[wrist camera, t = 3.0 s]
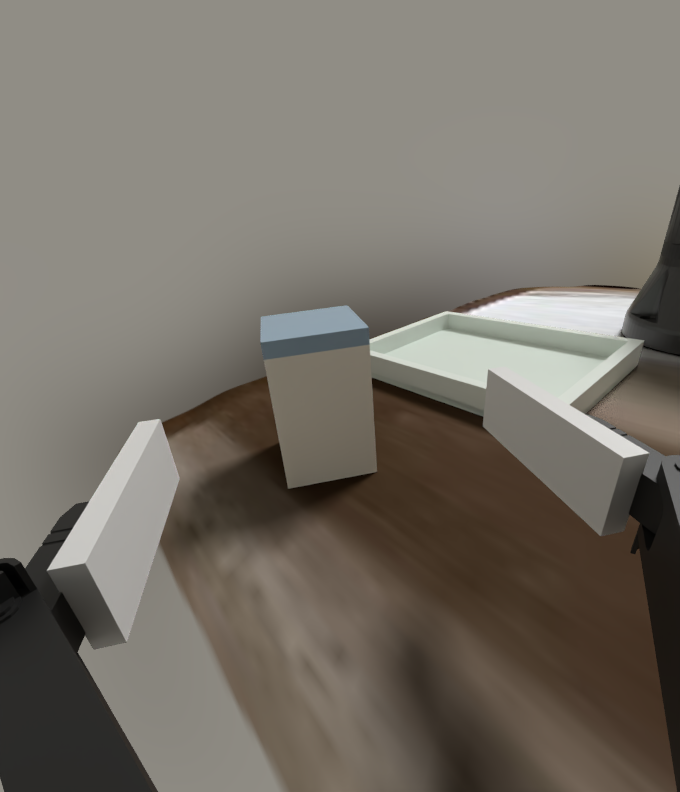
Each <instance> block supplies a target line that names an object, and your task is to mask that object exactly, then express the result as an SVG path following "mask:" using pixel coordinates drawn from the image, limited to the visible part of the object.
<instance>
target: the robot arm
mask: <svg viewBox="0 0 680 792" xmlns="http://www.w3.org/2000/svg"><path fill="white" fill-rule="evenodd" d="M622 333H623V335H624V336H625V337H627V338H631V339H638V340H645V341H644V344H643V345H644V346H646V347H650V348H653V349H656V350H660V351H664V352H669V353H673V354H678V355H680V187H679V190H678V194H677V197H676V201H675V205H674V208H673V212H672V215H671V219H670V223H669V226H668V230H667V233H666V237H665V240H664V244H663V248H662V252H661V256H660V259H659V262H658V264H657V266H656V268H655V269H654V271H653V272H652V274H651V275H650V277H649V278H648V280H647V281H646V283H645V284H644V286H643V287H642V289H641V290H640V292H639V294H638V295H637V297H636V298H635V300H634V301H633V303H632V304H631V306H630V307H629V309H628V310H627V313H626V315H625V319H624V323H623V327H622ZM483 427H484V428H485V429H486V430H487V431H488V432H489V433H491V434H492V435H493V436H494V437H495V438H496V439H497V440H498V441H499V442H500V443H501V444H502V445H503V446H505V447H506V448H507V449H508V450H509V451H510V452H511V453H512V454H513V455H514V456H515V457H516V458H517V459H518V460H520V461H521V462H522V463H523V464H524V465H525V466H526V467H527V468H528V469H529V470H530V471H531V472H532V473H533V474H535V475H536V476H537V477H538V478H539V479H540V480H541V481H542V482H543V483H544V484H545V485H546V486H547V487H549V488H550V489H551V490H552V491H553V492H554V493H555V494H556V495H557V496H558V497H559V498H560V499H561V500H562V501H564V502H565V503H566V504H567V505H568V506H569V507H570V508H571V509H572V510H573V511H574V512H575V513H576V514H578V515H579V516H580V517H581V518H582V519H583V520H584V521H585V522H586V523H587V524H588V525H589V526H590V527H591V528H593V529H594V530H595V531H596V532H597V533H598V534H599V535H600V536H604V535H609V534H613V533H618V532H622V531H624V530H625V526H626V523H627V520H628V517H629V514H630V515H631V516H632V517H633V518H635V519H636V520H637V521H638V522H640V525H639V528H638V531H637V534H636V537H635V540H634V542H633V545H632V548H631V553H632V554H635V553H636V551H637V549H640V555H641V561H642V568H643V574H644V581H645V587H646V594H647V600H648V606H649V613H650V619H651V626H652V632H653V639H654V645H655V651H656V658H657V664H658V671H659V677H660V684H661V690H662V696H663V703H664V709H665V716H666V722H667V729H668V735H669V741H670V748H671V754H672V761H673V767H674V774H675V780H676V786H677V792H680V455H672V456H667V457H666V456H664V455H662V454H661V453H659V452H657V451H656V450H654V449H652V448H650V447H649V446H647V445H645V444H644V443H642V442H640V441H638V440H637V439H635V438H633V437H632V436H630V435H629V436H627V434H626V433H625V432H623V431H621V430H620V429H616V427H614V426H613V425H611V424H609V423H608V422H606V421H604V420H602V419H600V418H597V417H594V416H591V415H588V414H584V413H582V412H580V411H579V410H577V409H575V408H574V407H572V406H570V405H569V404H567V403H565V402H564V401H562V400H560V399H559V398H557V397H555V396H554V395H552V394H550V393H549V392H547V391H545V390H544V389H542V388H540V387H539V386H537V385H535V384H534V383H532V382H530V381H529V380H527V379H525V378H524V377H522V376H520V375H519V374H517V373H515V372H513V371H512V370H510V369H508V368H507V367H498V368H492V369H488V376H487V386H486V397H485V407H484V418H483ZM179 479H180V478H179V475H178V472H177V469H176V466H175V463H174V460H173V457H172V454H171V451H170V448H169V444H168V441H167V438H166V435H165V432H164V429H163V426H162V423H161V420H160V419H157V420H150V421H143V422H138V424H137V426H136V428H135V429H134V431H133V432H132V434H131V435H130V437H129V438H128V440H127V442H126V443H125V445H124V446H123V448H122V450H121V451H120V453H119V455H118V456H117V458H116V459H115V461H114V463H113V464H112V466H111V467H110V469H109V471H108V472H107V474H106V476H105V477H104V479H103V481H102V482H101V484H100V485H99V487H98V489H97V490H96V492H95V494H94V495H93V497H92V498H91V500H90V501H89V502H84V503H78V504H75V505H74V506H73V507H72V508H71V509H69V511H67V512H66V513H65V514H64V515H62V517H60V518H59V520H58V521H57V523H56V524H55V526H54V527H53V529H52V530H51V534H49V535H48V536H47V538H46V539H45V540H44V542H43V543H42V544H43V545H42V546H41V547H40V548H39V549H38V551H37V552H36V553H35V555H34V556H33V558H32V559H31V561H30V562H29V564H28V565H27V567H26V568H24V567H23V565H22V563H21V562H19V561H18V560H16V559H15V558H3V559H0V779H1V781H2V785H3V789H4V792H158V791H157V789H156V787H155V786H154V784H153V782H152V781H151V779H150V777H149V775H148V774H147V772H146V770H145V768H144V767H143V765H142V763H141V761H140V760H139V758H138V756H137V754H136V753H135V751H134V749H133V747H132V746H131V744H130V742H129V741H128V739H127V737H126V735H125V733H124V732H123V730H122V728H121V727H120V725H119V723H118V721H117V720H116V718H115V716H114V714H113V713H112V711H111V709H110V708H109V706H108V704H107V702H106V701H105V699H104V697H103V695H102V694H101V692H100V690H99V688H98V687H97V685H96V683H95V682H94V680H93V678H92V676H91V675H90V673H89V671H88V669H87V668H86V666H85V664H84V662H83V661H82V659H81V657H80V656H79V654H78V653H77V652H78V650H79V647H80V645H81V642H82V640H83V638H84V636H86V637H87V639H88V641H89V643H90V644H91V646H92V648H93V649H99V648H103V647H108V646H112V645H117V644H121V643H126V642H127V640H128V637H129V634H130V631H131V627H132V624H133V621H134V618H135V615H136V612H137V609H138V606H139V603H140V600H141V597H142V594H143V591H144V587H145V584H146V581H147V578H148V575H149V572H150V569H151V566H152V563H153V560H154V557H155V553H156V550H157V547H158V544H159V541H160V538H161V535H162V532H163V529H164V526H165V523H166V519H167V516H168V513H169V510H170V507H171V504H172V501H173V498H174V495H175V492H176V488H177V485H178V482H179Z"/></svg>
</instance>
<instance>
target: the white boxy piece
mask: <svg viewBox="0 0 680 792" xmlns="http://www.w3.org/2000/svg"><path fill="white" fill-rule="evenodd" d="M261 347H262V353H263V358H264V363H265V368H266V373H267V379H268V384H269V390H270V395H271V400H272V406H273V411H274V416H275V422H276V427H277V432H278V437H279V443H280V448H281V453H282V459H283V464H284V469H285V475H286V480H287V485H288V489H290V488H295V487H300V486H306V485H311V484H316V483H321V482H327V481H332V480H337V479H342V478H348V477H353V476H358V475H363V474H369V473H374V472H377V464H376V446H375V429H374V411H373V394H372V376H371V358H370V341H369V327H368V326H367V325H366V324H365V323H364V322H363V321H362V320H361V319H360V318H359V317H358V316H357V315H356V314H355V313H354V312H353V311H352V310H351V309H350V308H349V307H348V306H339V307H331V308H324V309H316V310H309V311H302V312H293V313H286V314H279V315H271V316H263V317H261Z"/></svg>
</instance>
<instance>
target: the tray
mask: <svg viewBox="0 0 680 792" xmlns="http://www.w3.org/2000/svg"><path fill="white" fill-rule="evenodd" d="M369 341H370V358H371V376H372V378H375V379H377V380H380V381H383V382H386V383H389V384H392V385H395V386H397V387H400V388H403V389H406V390H409V391H412V392H415V393H417V394H420V395H423V396H426V397H429V398H432V399H434V400H437V401H440V402H443V403H446V404H449V405H452V406H454V407H457V408H460V409H463V410H466V411H469V412H471V413H474V414H477V415H480V416H483V417H484V407H485V397H486V386H487V376H488V369H492V368H498V367H507V368H508V369H510V370H512V371H513V372H515V373H517V374H519V375H520V376H522V377H524V378H525V379H527V380H529V381H530V382H532V383H534V384H535V385H537V386H539V387H540V388H542V389H544V390H545V391H547V392H549V393H550V394H552V395H554V396H555V397H557V398H559V399H560V400H562V401H564V402H565V403H567V404H569V405H570V406H572V407H574V408H575V409H577V410H579V411H580V412H582V413H584V414H586V413H587V412H589V411H590V410H591V409H592V408H593V407H594V406H595V405H596V404H597V403H598V402H599V401H600V400H601V399H602V398H603V397H604V396H606V395H607V394H608V393H609V392H610V391H611V390H612V389H613V388H614V387H615V386H616V385H617V384H618V383H619V382H620V381H621V380H623V379H624V378H625V377H626V376H627V375H628V374H629V373H630V372H631V371H632V370H633V369H634V368H635V367H636V366H637V365H638V362H639V359H640V355H641V352H642V348H643V344H644V341H645V340H638V339H631V338H624V337H618V336H611V335H604V334H597V333H590V332H584V331H577V330H570V329H563V328H556V327H550V326H543V325H536V324H529V323H522V322H516V321H509V320H502V319H495V318H488V317H482V316H475V315H468V314H461V313H454V312H448V311H446V312H443V313H440V314H438V315H435V316H432V317H429V318H427V319H424V320H421V321H419V322H416V323H413V324H410V325H408V326H405V327H402V328H400V329H397V330H394V331H392V332H389V333H386V334H383V335H381V336H378V337H375V338H373V339H370V340H369Z"/></svg>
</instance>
